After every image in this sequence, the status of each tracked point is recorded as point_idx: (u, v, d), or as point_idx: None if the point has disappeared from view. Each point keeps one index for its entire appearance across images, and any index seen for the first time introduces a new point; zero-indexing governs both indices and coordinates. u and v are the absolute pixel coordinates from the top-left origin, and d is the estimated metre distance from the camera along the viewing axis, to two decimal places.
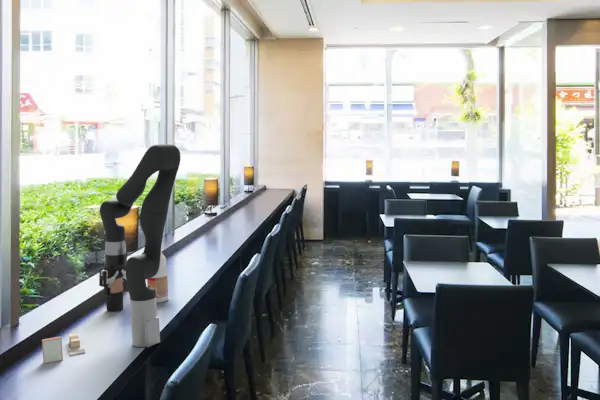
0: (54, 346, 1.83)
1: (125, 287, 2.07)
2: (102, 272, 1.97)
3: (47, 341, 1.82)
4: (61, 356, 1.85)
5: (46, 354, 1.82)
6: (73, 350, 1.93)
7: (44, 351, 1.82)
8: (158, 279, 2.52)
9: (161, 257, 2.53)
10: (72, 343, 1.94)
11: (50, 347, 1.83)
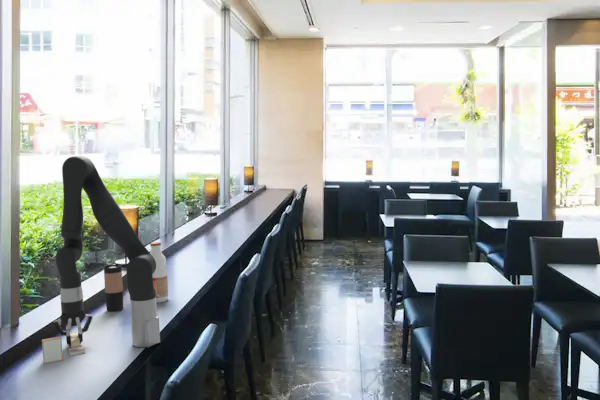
0: (54, 346, 1.83)
1: None
2: (91, 316, 2.01)
3: (47, 341, 1.82)
4: (61, 356, 1.85)
5: (46, 354, 1.82)
6: (73, 350, 1.93)
7: (44, 351, 1.82)
8: (158, 279, 2.52)
9: (161, 257, 2.53)
10: (72, 343, 1.94)
11: (50, 347, 1.83)
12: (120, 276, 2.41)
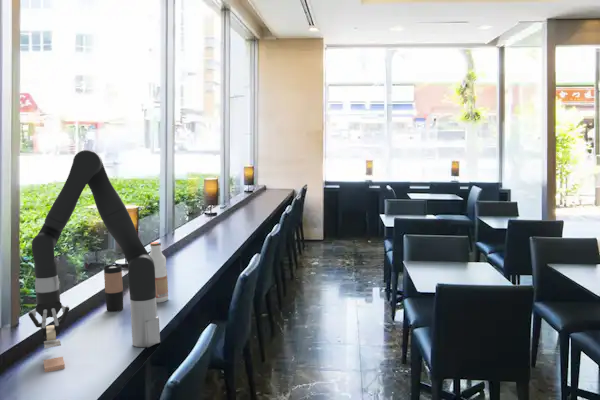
0: None
1: None
2: None
3: None
4: None
5: None
6: (48, 342, 1.84)
7: None
8: (158, 279, 2.52)
9: (161, 257, 2.53)
10: (47, 335, 1.86)
11: None
12: (120, 276, 2.41)
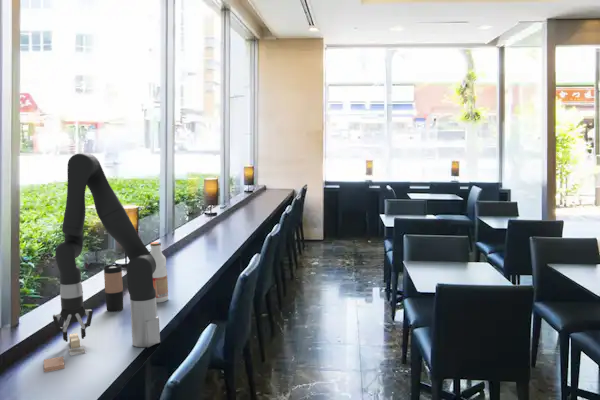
0: None
1: None
2: (92, 311, 2.01)
3: None
4: None
5: None
6: (73, 350, 1.93)
7: None
8: (158, 279, 2.52)
9: (161, 257, 2.53)
10: (72, 343, 1.95)
11: None
12: (120, 276, 2.41)
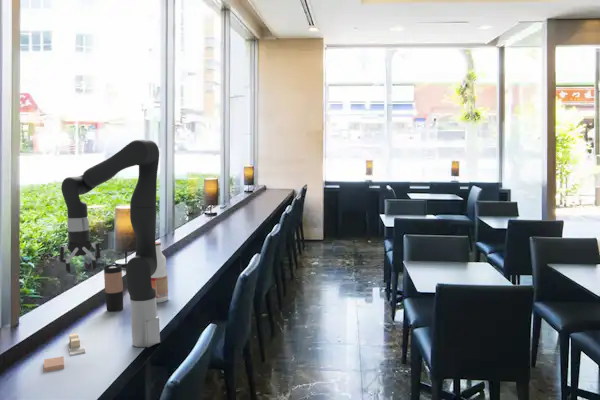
0: None
1: None
2: None
3: None
4: None
5: None
6: (73, 350, 1.93)
7: None
8: (158, 279, 2.52)
9: (161, 257, 2.53)
10: (72, 343, 1.95)
11: None
12: (120, 276, 2.41)
